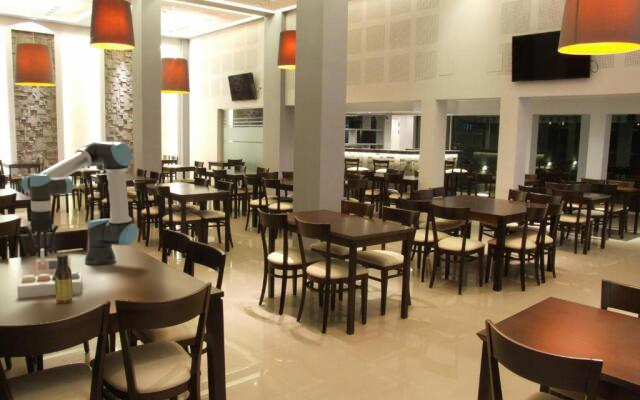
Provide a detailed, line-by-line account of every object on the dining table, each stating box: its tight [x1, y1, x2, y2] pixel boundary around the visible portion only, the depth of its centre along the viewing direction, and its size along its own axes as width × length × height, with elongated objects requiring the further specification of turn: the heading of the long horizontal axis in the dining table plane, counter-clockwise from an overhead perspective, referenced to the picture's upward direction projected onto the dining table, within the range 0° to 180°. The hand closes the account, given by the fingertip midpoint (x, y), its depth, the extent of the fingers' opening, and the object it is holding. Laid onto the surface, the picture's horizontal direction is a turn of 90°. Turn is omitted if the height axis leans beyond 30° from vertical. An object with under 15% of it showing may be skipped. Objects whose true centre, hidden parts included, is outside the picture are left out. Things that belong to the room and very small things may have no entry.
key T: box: [21, 274, 36, 283], centre depth 225 cm, size 4×4×4 cm
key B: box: [38, 274, 50, 282], centre depth 227 cm, size 4×4×4 cm
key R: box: [71, 271, 80, 279], centre depth 232 cm, size 4×4×4 cm
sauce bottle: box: [55, 253, 74, 305], centre depth 213 cm, size 7×6×20 cm
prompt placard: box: [35, 257, 71, 276], centre depth 240 cm, size 14×1×11 cm, turn 113°
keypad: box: [16, 271, 83, 299], centre depth 229 cm, size 24×16×5 cm, turn 113°
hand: (42, 264), depth 226 cm, fingers closed
